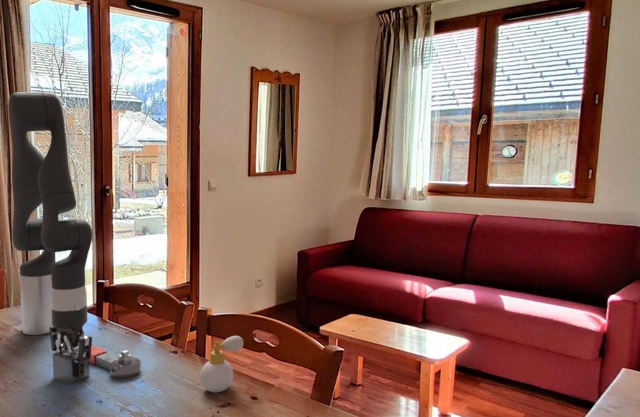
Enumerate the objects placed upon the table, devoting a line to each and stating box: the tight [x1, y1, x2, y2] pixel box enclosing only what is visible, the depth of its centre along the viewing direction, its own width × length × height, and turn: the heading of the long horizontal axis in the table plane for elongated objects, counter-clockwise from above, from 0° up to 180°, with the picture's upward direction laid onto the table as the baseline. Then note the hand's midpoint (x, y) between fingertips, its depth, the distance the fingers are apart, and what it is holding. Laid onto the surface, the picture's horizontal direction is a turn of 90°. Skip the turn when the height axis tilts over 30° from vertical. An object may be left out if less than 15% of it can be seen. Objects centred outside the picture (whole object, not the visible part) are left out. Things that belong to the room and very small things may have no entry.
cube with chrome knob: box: [52, 347, 90, 386], centre depth 121 cm, size 6×6×6 cm
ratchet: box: [89, 344, 142, 380], centre depth 128 cm, size 20×7×6 cm, turn 57°
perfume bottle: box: [199, 335, 244, 393], centre depth 117 cm, size 8×10×12 cm
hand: (71, 372), depth 121 cm, fingers open, 5 cm apart
